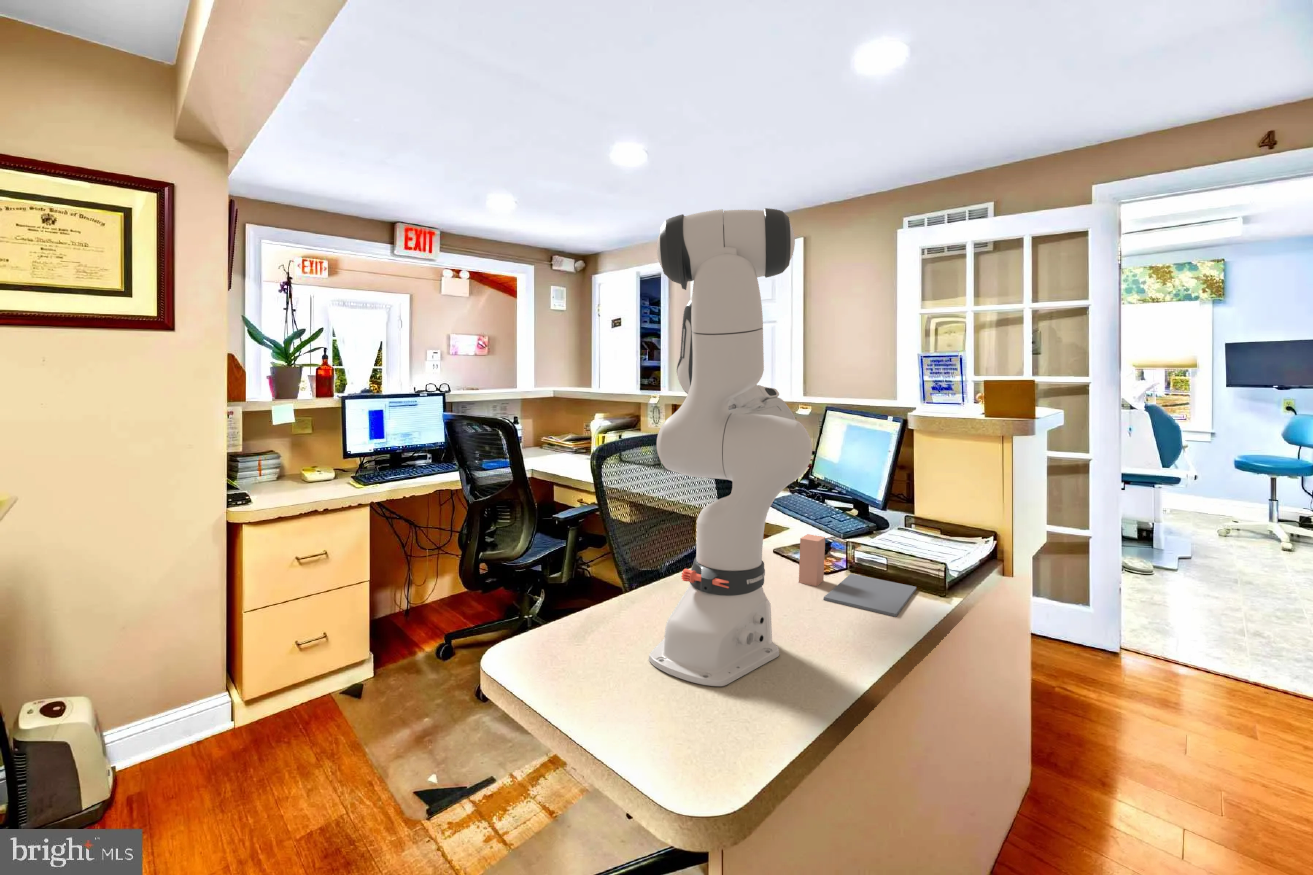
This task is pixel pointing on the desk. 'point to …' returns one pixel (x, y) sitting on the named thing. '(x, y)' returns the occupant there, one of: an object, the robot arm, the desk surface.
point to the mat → (871, 594)
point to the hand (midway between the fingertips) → (777, 450)
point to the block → (811, 559)
